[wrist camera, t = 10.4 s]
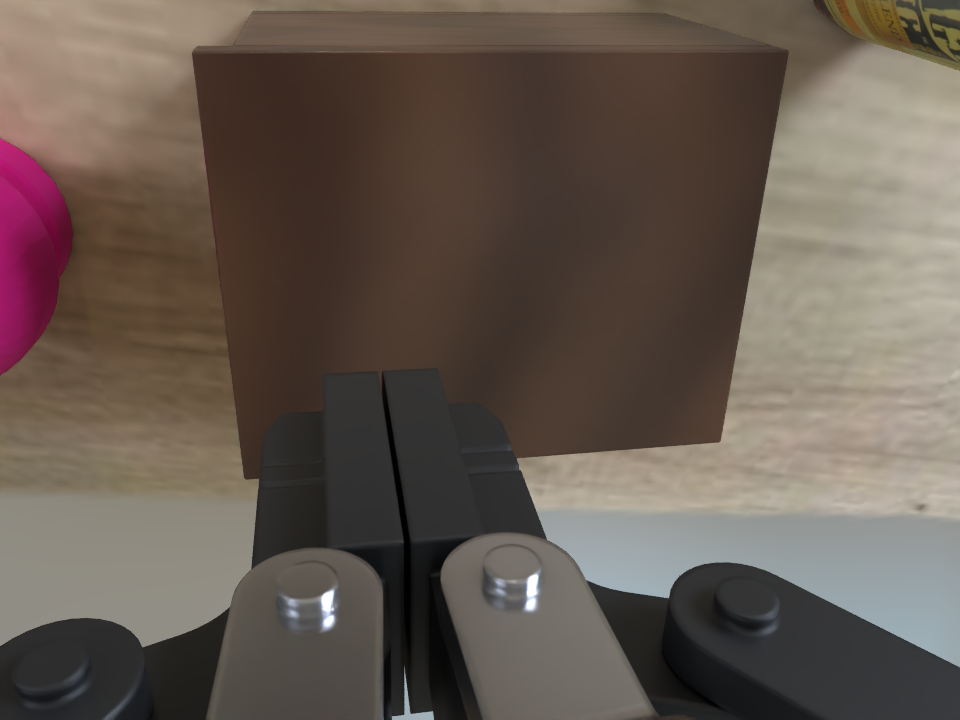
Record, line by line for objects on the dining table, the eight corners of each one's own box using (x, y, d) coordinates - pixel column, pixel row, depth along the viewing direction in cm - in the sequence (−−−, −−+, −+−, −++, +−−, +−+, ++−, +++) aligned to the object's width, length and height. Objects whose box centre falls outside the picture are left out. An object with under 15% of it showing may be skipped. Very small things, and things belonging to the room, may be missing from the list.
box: (282, 344, 33) (274, 460, 26) (251, 10, 27) (231, 45, 20) (631, 325, 35) (709, 427, 28) (666, 13, 29) (773, 45, 23)
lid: (245, 464, 26) (243, 480, 25) (195, 45, 20) (191, 51, 19) (710, 428, 28) (721, 443, 27) (774, 45, 23) (789, 50, 22)
